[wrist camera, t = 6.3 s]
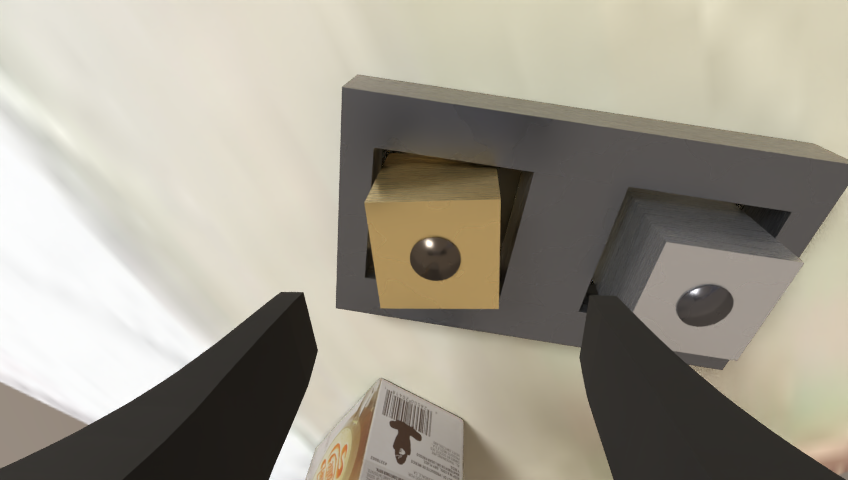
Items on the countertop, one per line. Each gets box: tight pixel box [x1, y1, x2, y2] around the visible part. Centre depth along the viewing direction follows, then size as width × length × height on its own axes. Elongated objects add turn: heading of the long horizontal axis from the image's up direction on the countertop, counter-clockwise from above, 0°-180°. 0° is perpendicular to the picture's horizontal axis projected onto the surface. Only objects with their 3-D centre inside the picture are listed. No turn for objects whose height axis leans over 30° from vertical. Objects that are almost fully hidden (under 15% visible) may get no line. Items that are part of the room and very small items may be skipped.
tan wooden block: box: [364, 153, 501, 309], centre depth 18 cm, size 4×4×5 cm
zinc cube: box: [592, 187, 804, 361], centre depth 18 cm, size 4×4×5 cm
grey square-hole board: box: [336, 75, 848, 370], centre depth 19 cm, size 18×10×2 cm, turn 83°
